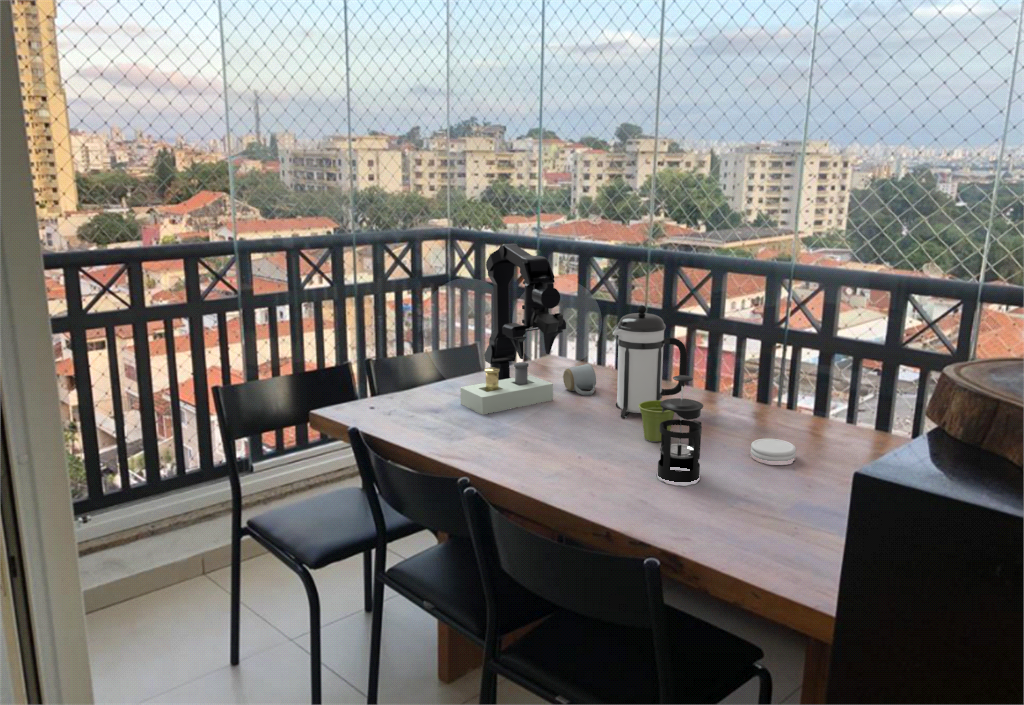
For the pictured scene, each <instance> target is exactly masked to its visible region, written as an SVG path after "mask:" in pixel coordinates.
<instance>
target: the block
mask: <svg viewBox="0 0 1024 705" xmlns="http://www.w3.org/2000/svg"><path fill="white" fill-rule="evenodd" d="M498 383H499V390H495V391H489V392H486V382H482V383H475V384H472V385H465V386H460V390H459V392H460V405H462V406H464V407H466V408H468V409H470V410H472V411H473V412H476V413H478V414H480V415H488V413H489V414H492V413H493V412H494V413H498V412H502V410H503V411H507V410H506V409H508V410H511V409H510V408H513V409H516V408H515V407H518V408H522V406H523V407H527V406H532V405H535V404H536V403H537V404H542V403H545V402H546V401H547V402H550V401H551V402H552V401H554V383H552V382H551V381H550V382H549V381H547V380H545V379H541V378H539V377H537V376H534V375H531V374H528V384H526V385H521V386H518V385H516V384H515V376H514V377H511V378H509V379H503V380H498ZM541 402H542V403H541ZM547 402H546V403H547ZM531 404H532V405H531ZM537 404H536V405H537ZM497 411H498V412H497Z"/></svg>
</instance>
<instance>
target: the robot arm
mask: <svg viewBox="0 0 1024 705" xmlns="http://www.w3.org/2000/svg"><path fill="white" fill-rule="evenodd" d="M517 267H518V268H519V273H520V275H521V276H522V278H523V281H522V284H523V285H524V304H522V305H521V309H522V310H524V318H523V319H522V320H521V323H522V324H519V323H516V322H512V323H510V283H511V281H512V280H513V278H514V275H515V270H516V268H517ZM485 268H486V270H487V276H488V278H489V279H490V281H491V284H493V286H492V287H493V288H492V289H493V331H492V333H491V335H490V336H489V339H488V346H487V348H486V350H485V352H484V361H485V362H486V363H487V364H489V365H490V367H496V368H499V372H498V380H503V379H509V378H512V377H511V376H510V375H511V374H510V373H511V367H510V362H516V356H517V354H518V357H519V359H521V360H523V359H524V355H525V351H524V350H525V349H524V346H525V344H524V343H525V341H526V339H527V336H525V335H526V332H531V331H538V330H540V331H541V333H543V334H542V335H543V340H544V341H543V343H544V350H545V354H546V355H550V353H551V351H552V347H553V346H554V345H553V344H554V343H555V340H556V338H557V336H559V334H561V333H563V331H564V330H567V321H566V320H565V319H564V317H563V314H562V313H561V312H556V313H554V314H553V313H551V314H550V310H551V309H555V308H557V306H558V305H559V303H560V301H561V295H560V294H561V293H560V291H559V290H558V289H557V288H555V278H556V277H555V274H554V271H553V270H552V267H551V263H550V262H549V260H548V259H547V257H545V256H542V255H541V256H540V255H532V254H531V253H529V252H527V251H525V250H524V249H523V248H521V247H520V246H519V245H518V244H516V243H503V244H501V245H500V246H499V247H498V249H495V251H493V252H492V253H490V255H489V256H488V258H487V260H486V263H485ZM549 309H550V310H549Z"/></svg>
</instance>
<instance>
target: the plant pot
mask: <svg viewBox="0 0 1024 705" xmlns="http://www.w3.org/2000/svg"><path fill="white" fill-rule="evenodd" d="M662 401H663V400H661V401H658V400H653V401H645V402H642V403H640V404H639V408H640V410H641V413H640V414H641V419H642V428H643V436H644V437H643V438H644V439H645V440H646V439H647V440H646V441H648V440H650V441H649V442H651V441H657V442H660V441H661V433H660V431H659V427H660V423H661V422H663V421H666V420H673V419H674V415H675V414H676V413H675V412H673V411H671V410H665V411H664V412H663V413H662V407H661V405H660V403H661V402H662ZM672 426H673V425H671V426H667V430H669V431H672Z"/></svg>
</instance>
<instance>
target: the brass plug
mask: <svg viewBox="0 0 1024 705" xmlns="http://www.w3.org/2000/svg"><path fill="white" fill-rule="evenodd" d="M498 372H499V368H496V367H491V366H490V367H485V368H484V373H485V383H486V392H489V391H495V390H499V383H498Z"/></svg>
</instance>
